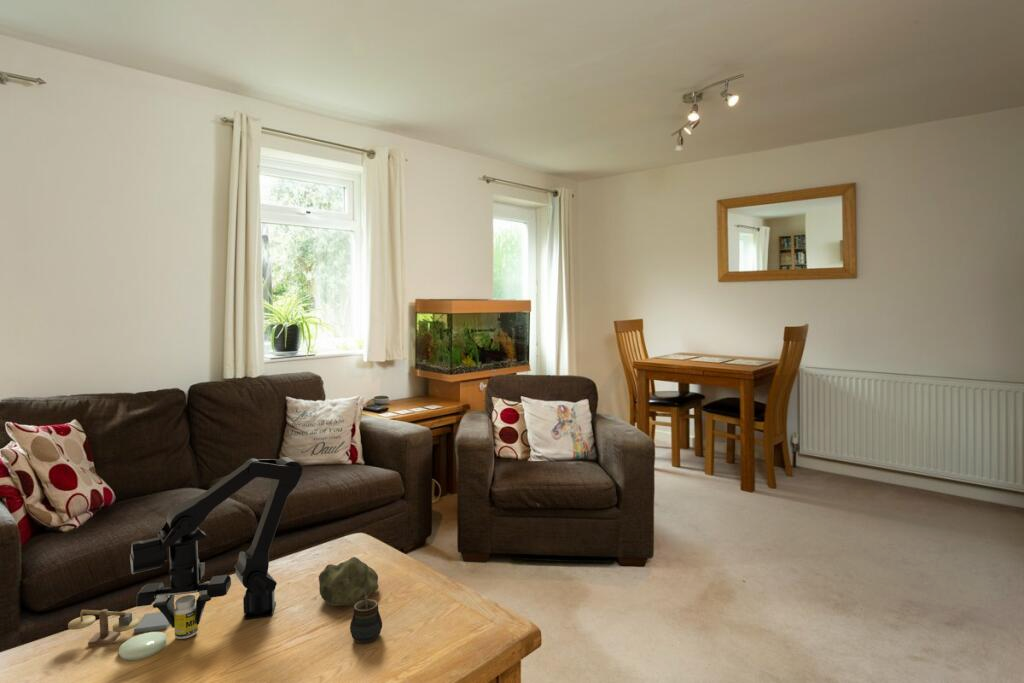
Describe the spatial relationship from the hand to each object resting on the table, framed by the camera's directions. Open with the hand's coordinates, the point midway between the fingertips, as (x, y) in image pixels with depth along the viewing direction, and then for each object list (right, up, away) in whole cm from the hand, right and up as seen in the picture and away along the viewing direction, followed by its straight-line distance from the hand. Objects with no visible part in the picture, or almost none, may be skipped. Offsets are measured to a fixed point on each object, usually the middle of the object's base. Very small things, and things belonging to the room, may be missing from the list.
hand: (186, 625), depth 132 cm
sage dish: (-7, -3, -5) cm, 9 cm away
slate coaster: (-11, -2, +6) cm, 12 cm away
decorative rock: (+33, -2, +18) cm, 38 cm away
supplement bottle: (0, -2, 0) cm, 2 cm away
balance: (-18, -3, -2) cm, 18 cm away
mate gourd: (+43, -3, -1) cm, 43 cm away
